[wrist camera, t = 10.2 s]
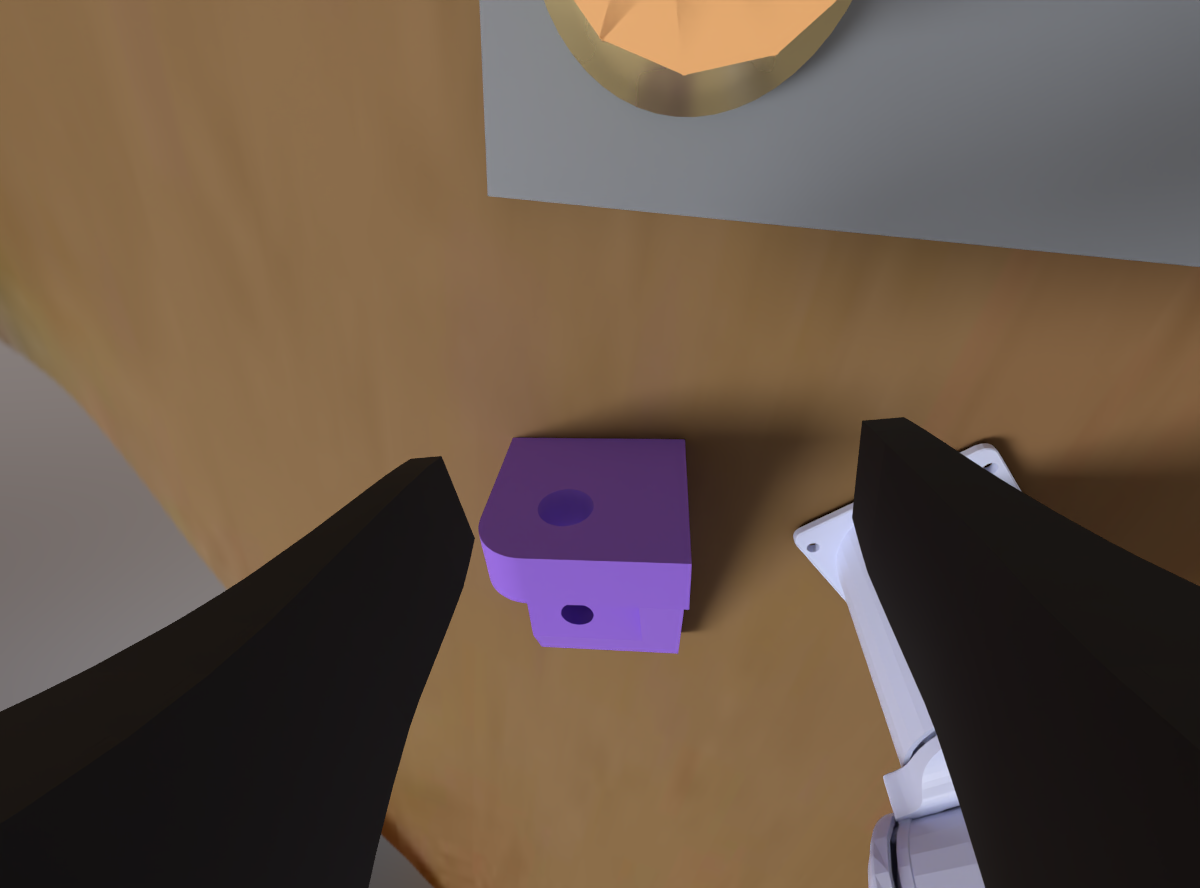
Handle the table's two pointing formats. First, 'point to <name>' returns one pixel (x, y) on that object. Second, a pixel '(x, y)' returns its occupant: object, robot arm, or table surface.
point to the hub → (694, 91)
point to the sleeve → (701, 28)
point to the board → (890, 128)
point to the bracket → (593, 540)
